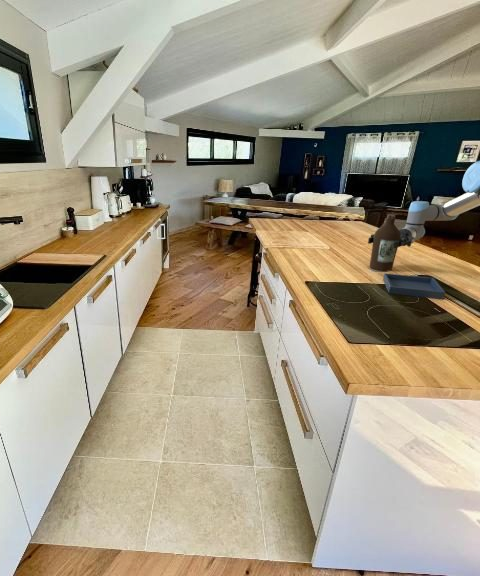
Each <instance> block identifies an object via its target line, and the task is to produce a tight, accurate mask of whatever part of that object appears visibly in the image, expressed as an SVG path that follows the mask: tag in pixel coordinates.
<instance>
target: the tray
mask: <svg viewBox="0 0 480 576" xmlns="http://www.w3.org/2000/svg"><path fill="white" fill-rule="evenodd" d="M382 280H383V283H384V286H385V288H386V291H387V292H388V293H387V294H391V295H399V296H400V295H401V296H409V297H416V298H417V297H418V298H427V299H435V300H444V299H445V296H446V291H445V290H444V289H443V287H442V286H441V285H440V284H439V282H437V280H436V279H435V278H434V277H429V276H419V275H418V276H417V275H406V274H396V273H395V274H394V273H385V272H384V273H383V278H382Z"/></svg>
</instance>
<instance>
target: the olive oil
mask: <svg viewBox="0 0 480 576" xmlns="http://www.w3.org/2000/svg"><path fill="white" fill-rule="evenodd" d="M395 221H396V214H387V215H386V220H385V223H384V224H383V225H381V226H380V227H379V228H377V229H376V230H375V232H374V238H373V243H372V246H371V247H372V248H371V254H370V259H369V268H370V269H372V270H374V271H381V272H389V271H392V270H393V266H394V263H395V259H396V256H397V253H398V248H399V247H398V248H393V247H394V242H396V241H399V240H400V238H401V234H400V231H399V228H398V227H397V226H396V225H395Z"/></svg>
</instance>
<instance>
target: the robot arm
mask: <svg viewBox="0 0 480 576" xmlns="http://www.w3.org/2000/svg"><path fill="white" fill-rule="evenodd" d="M461 185H462V189H463V192H465V193H463V194H462V195H459V196H457V197H454V198H452V199H451V200H449V201H447V202H445V203H442V204H436V205H435V204H430V202H429V201H426V200H425V201H423V200H415V201H412V202H411V203H410V205H409V208H408V214H407V218H406V222H405V226H404V227H403V228H400V229H399V228H398V230H399V231H400V234H401V238H400V240H399V241H396V242H394V247H393V248H400V247H406V246H407V247H408V248H410V247H411V246H412V244H413V243H414V242H415V241H417V240H419V239H421V238H423V236H424V235H425V234H426V229H425V227H424V225H425V222H429V221H430V222H432V221H433V222H435V221H436V222H437V221H440V222H441V221H443V222H445V221H446V222H448V221H453V220H456V219H457V218H458V217H459V215H460V214H463V213H465V212H468V211H470V210H472V209H474V208H478V207H479V206H480V160H477V161H475V162H474V163H472V164H471V165H470V166H469V167H468V168H467V170H466V171H465V173H464V175H463V178H462V183H461ZM374 234H375V233H374ZM374 234H370V237H368V239H367V244H368V245H370V244H373V238H374Z"/></svg>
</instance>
